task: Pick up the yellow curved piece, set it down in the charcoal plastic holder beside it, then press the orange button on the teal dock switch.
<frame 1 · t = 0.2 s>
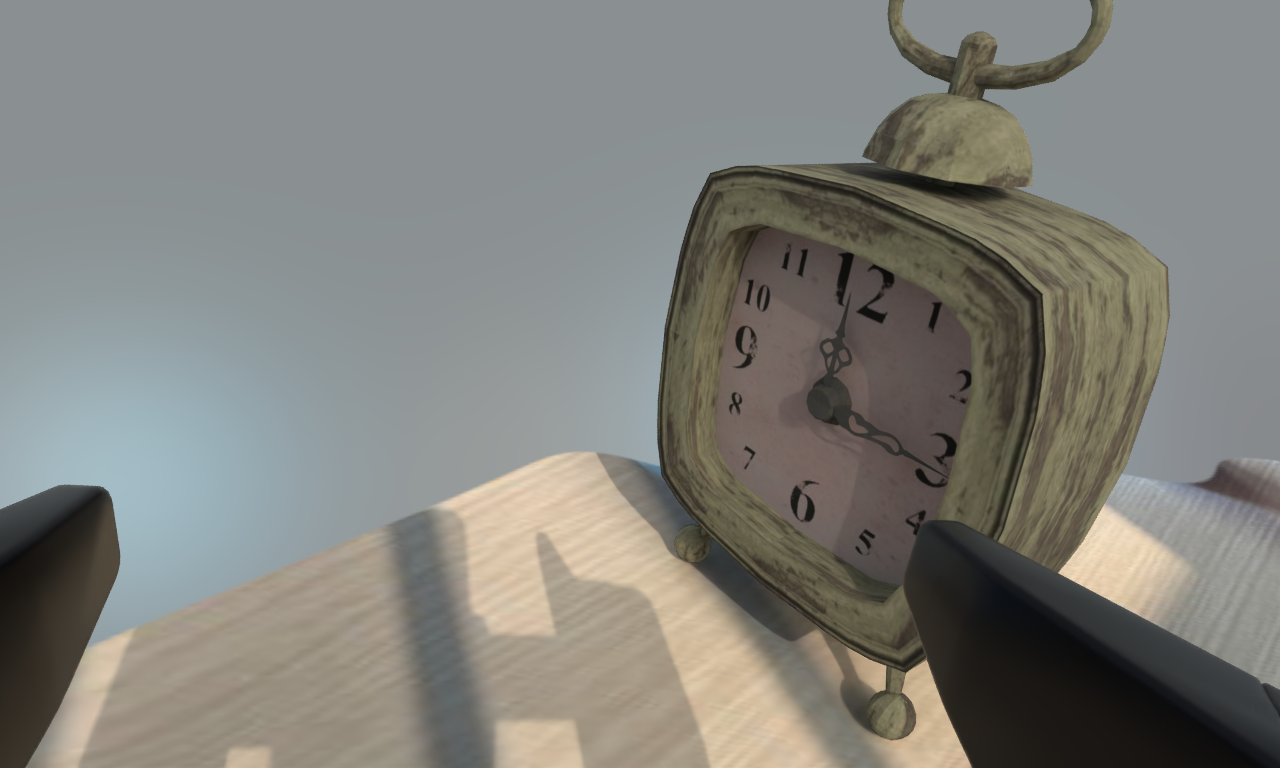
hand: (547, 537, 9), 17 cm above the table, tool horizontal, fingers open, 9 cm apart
tabletop clock: (821, 617, 34), on the table
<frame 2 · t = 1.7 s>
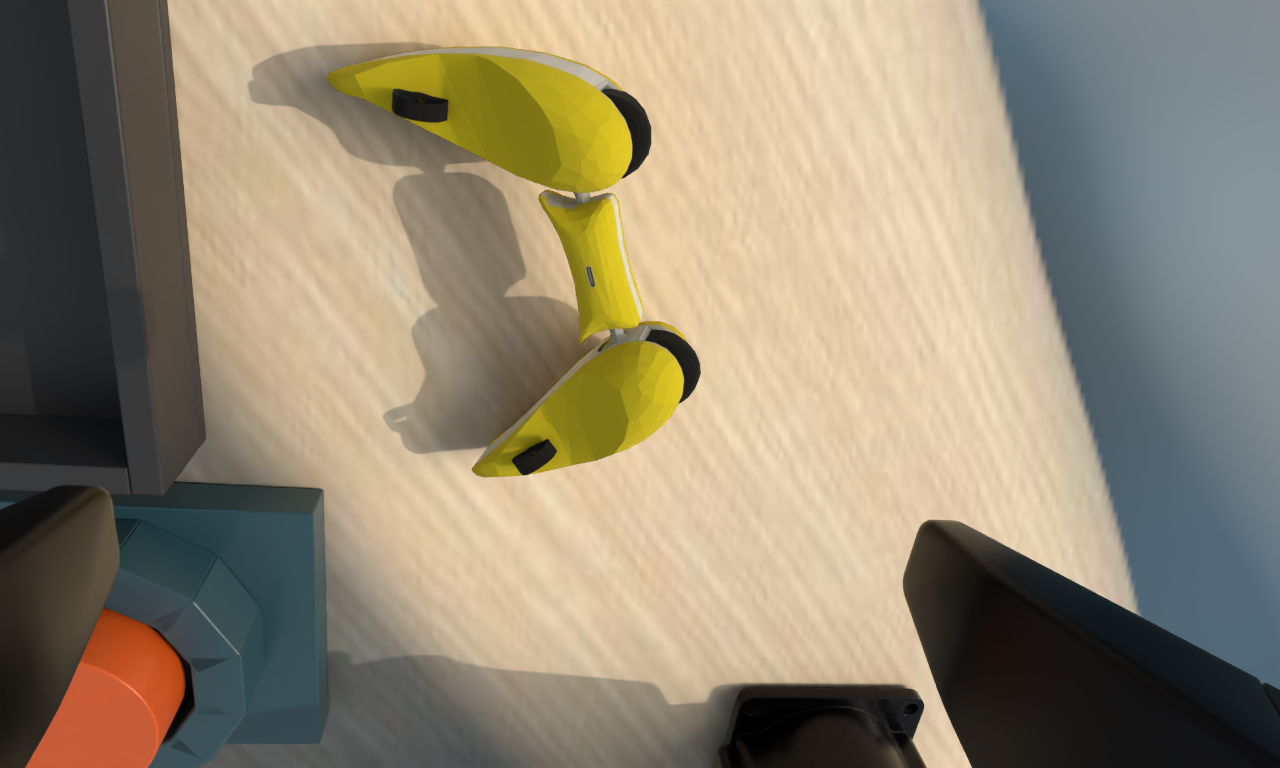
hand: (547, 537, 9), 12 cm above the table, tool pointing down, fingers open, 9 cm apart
dock switch: (135, 604, 22), on the table
button: (71, 702, 19), point 3 cm above the table, slide at 0.1 cm
yellow curved piece: (535, 249, 20), on the table
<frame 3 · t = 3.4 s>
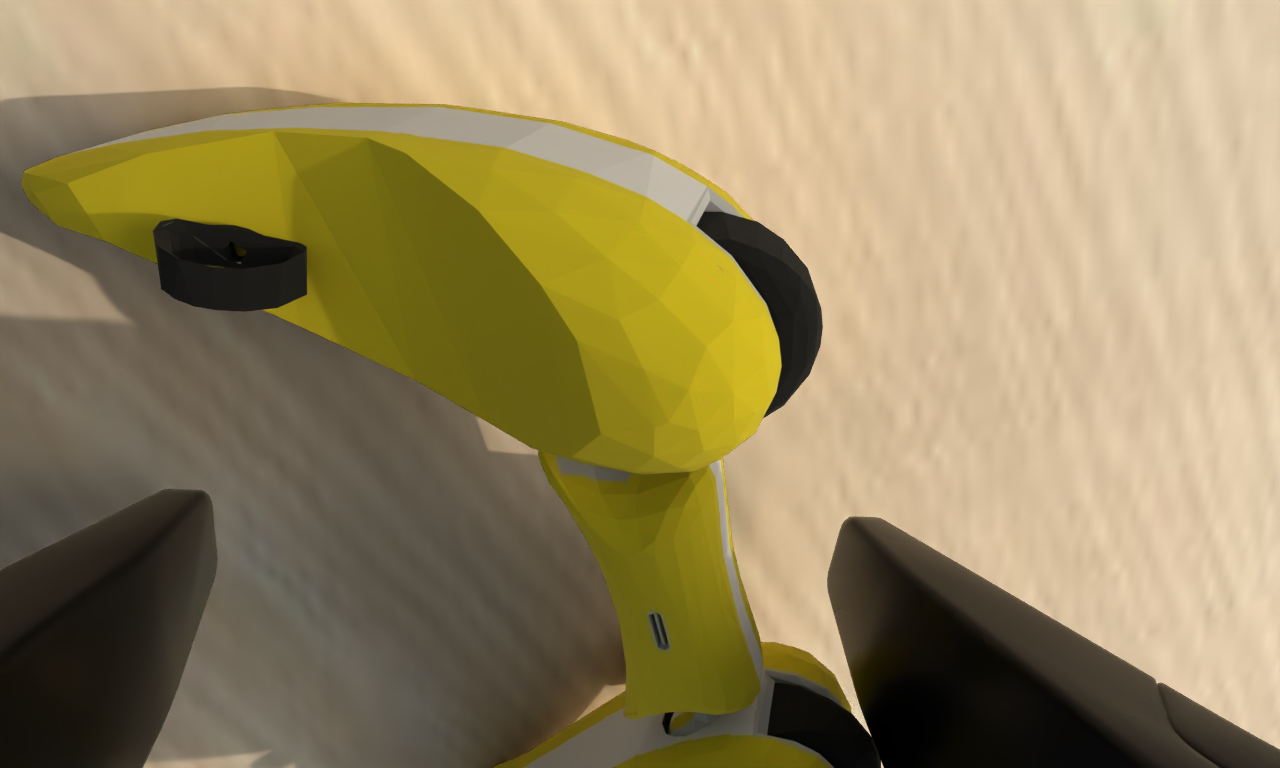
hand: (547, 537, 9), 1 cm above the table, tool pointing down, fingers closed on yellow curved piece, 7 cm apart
yellow curved piece: (530, 479, 10), on the table, touching gripper
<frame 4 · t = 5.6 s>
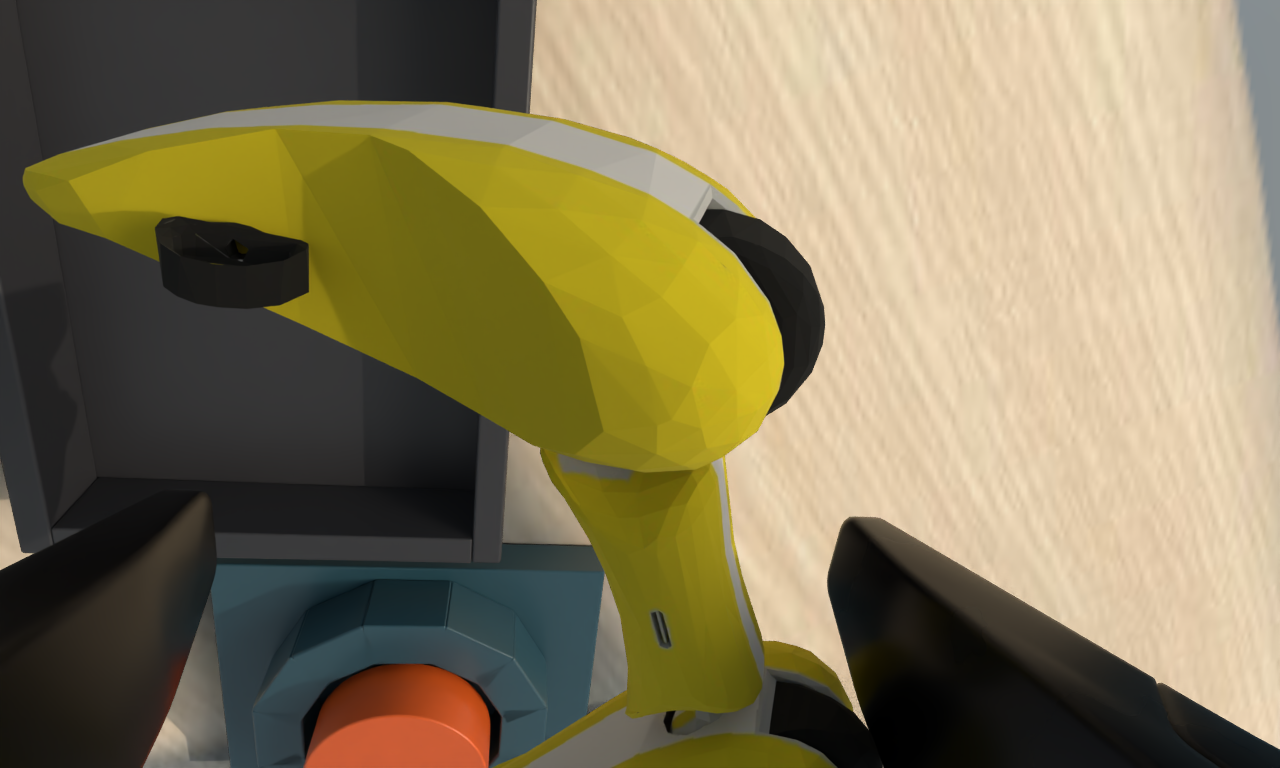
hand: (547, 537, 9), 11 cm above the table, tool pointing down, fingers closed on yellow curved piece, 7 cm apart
dock switch: (417, 654, 24), on the table
holder: (286, 222, 18), on the table
button: (400, 753, 20), point 3 cm above the table, slide at 0.1 cm
yellow curved piece: (532, 478, 10), point 10 cm above the table, touching gripper
when the fingers open (4 cm above the table, at t = 8.2 s): yellow curved piece drops 1 cm, resting on holder.
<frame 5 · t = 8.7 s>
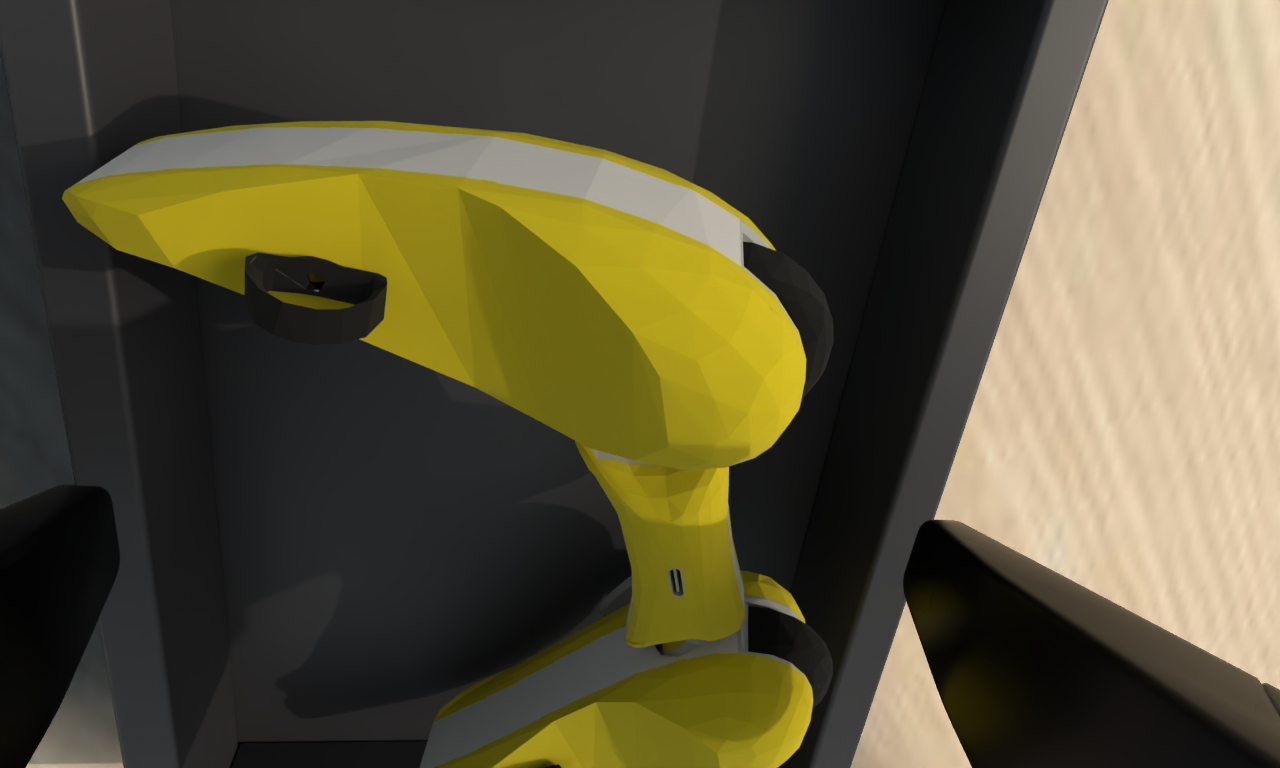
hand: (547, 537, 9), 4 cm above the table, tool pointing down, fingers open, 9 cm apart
holder: (540, 398, 12), on the table
yellow curved piece: (521, 438, 11), point 1 cm above the table, touching holder
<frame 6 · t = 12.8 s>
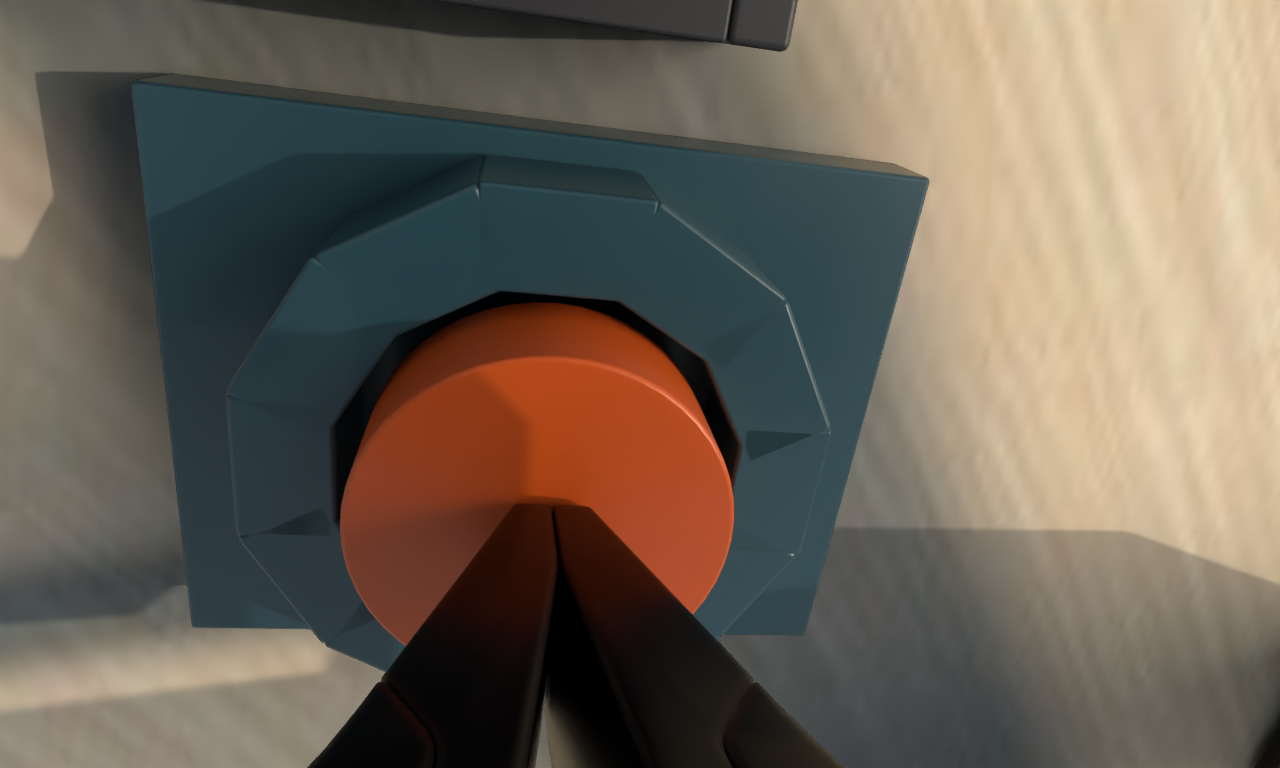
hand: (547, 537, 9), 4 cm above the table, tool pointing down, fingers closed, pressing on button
dock switch: (536, 383, 13), on the table
button: (542, 495, 10), point 3 cm above the table, slide at -0.1 cm, touching gripper
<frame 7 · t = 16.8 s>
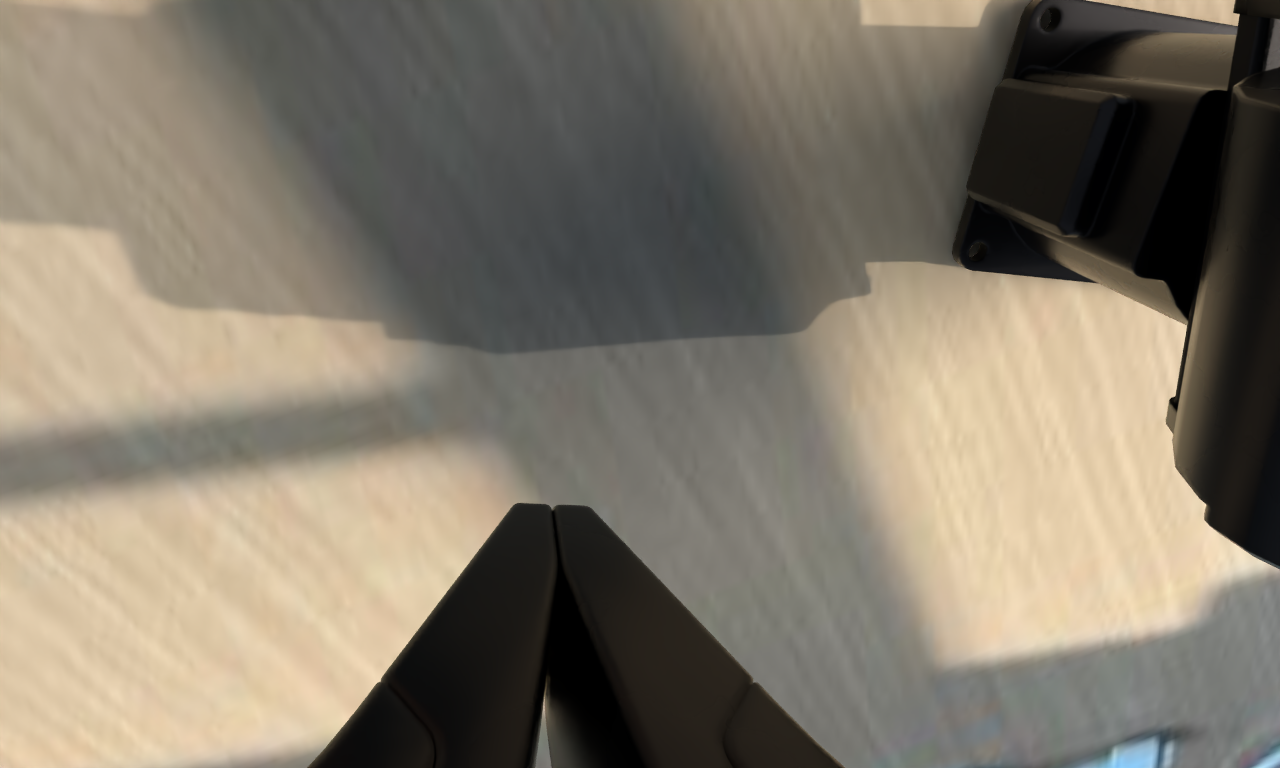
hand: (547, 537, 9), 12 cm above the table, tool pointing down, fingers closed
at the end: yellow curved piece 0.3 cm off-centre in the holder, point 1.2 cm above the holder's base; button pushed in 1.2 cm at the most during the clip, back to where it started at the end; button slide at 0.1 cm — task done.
